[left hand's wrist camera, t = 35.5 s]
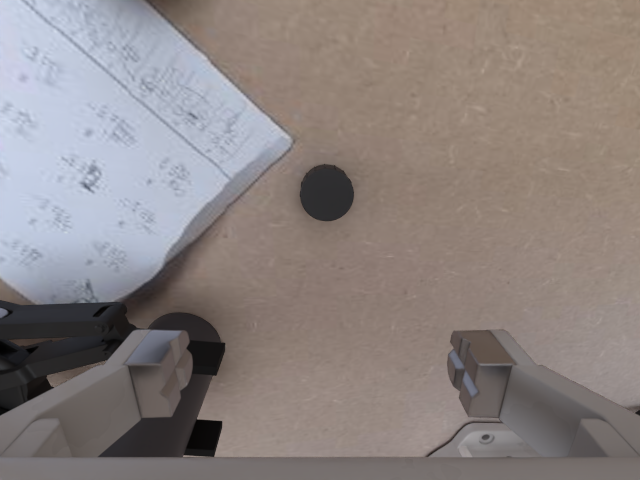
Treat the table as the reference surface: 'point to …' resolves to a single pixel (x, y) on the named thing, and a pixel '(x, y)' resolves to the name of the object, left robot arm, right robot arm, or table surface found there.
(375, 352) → the table surface
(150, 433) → the bottle
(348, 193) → the cap
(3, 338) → the right robot arm
